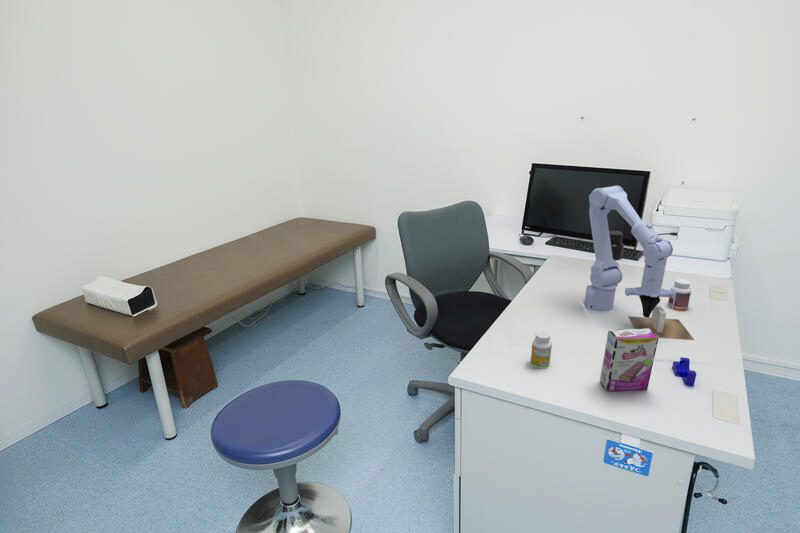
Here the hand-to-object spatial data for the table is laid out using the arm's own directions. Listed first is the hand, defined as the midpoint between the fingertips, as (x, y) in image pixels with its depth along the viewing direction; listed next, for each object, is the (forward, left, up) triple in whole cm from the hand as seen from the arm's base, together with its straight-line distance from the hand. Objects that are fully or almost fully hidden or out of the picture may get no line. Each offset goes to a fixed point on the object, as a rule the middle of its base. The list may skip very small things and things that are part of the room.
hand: (645, 316), depth 151 cm
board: (+5, 0, -5) cm, 7 cm away
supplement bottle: (-35, -26, -5) cm, 44 cm away
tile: (+4, 0, -4) cm, 5 cm away
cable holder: (+3, -27, -5) cm, 28 cm away
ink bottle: (+6, +72, -5) cm, 72 cm away
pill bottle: (+16, +17, -5) cm, 24 cm away
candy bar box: (-14, -34, -5) cm, 37 cm away
